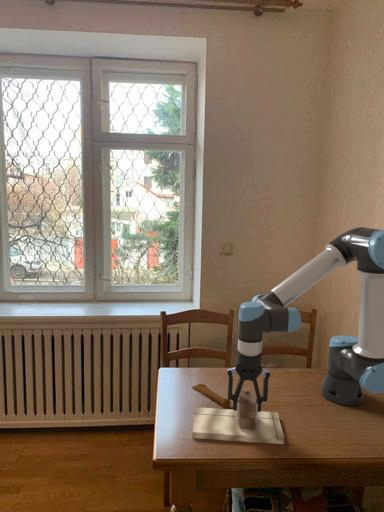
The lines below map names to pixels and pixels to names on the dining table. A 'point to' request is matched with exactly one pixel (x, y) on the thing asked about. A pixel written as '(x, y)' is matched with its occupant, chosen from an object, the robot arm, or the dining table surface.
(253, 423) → the beige drawer
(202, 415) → the board
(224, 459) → the dining table surface
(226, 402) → the primitive tool
